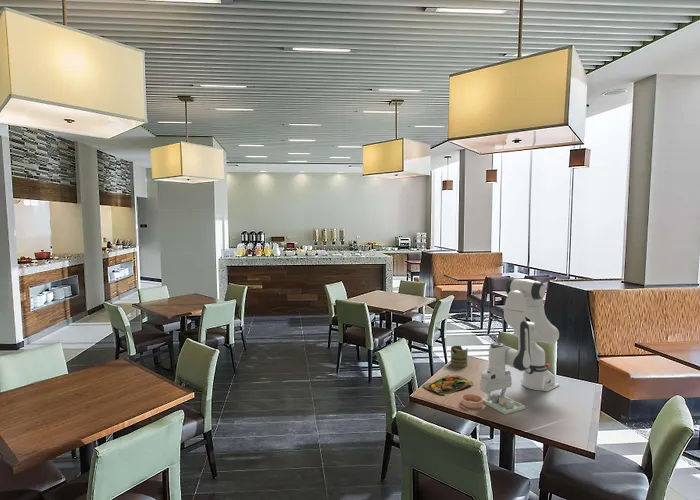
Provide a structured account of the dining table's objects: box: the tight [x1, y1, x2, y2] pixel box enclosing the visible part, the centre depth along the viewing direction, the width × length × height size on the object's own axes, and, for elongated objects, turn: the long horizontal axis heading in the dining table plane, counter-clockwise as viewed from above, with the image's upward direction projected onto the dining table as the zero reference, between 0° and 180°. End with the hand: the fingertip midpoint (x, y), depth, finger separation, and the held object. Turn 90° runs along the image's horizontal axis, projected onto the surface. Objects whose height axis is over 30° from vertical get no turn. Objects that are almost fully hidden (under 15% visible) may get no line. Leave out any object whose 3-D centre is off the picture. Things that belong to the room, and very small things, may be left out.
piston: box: [450, 345, 469, 369], centre depth 287 cm, size 11×12×11 cm
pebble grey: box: [506, 400, 514, 410], centre depth 217 cm, size 4×4×4 cm
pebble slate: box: [491, 393, 500, 403], centre depth 226 cm, size 4×4×4 cm
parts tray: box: [482, 393, 526, 415], centre depth 221 cm, size 14×17×2 cm
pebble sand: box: [499, 397, 507, 407], centre depth 221 cm, size 4×4×4 cm
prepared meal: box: [422, 374, 474, 397], centre depth 249 cm, size 28×4×18 cm
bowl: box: [460, 393, 485, 409], centre depth 224 cm, size 12×12×4 cm
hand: (496, 397), depth 225 cm, fingers open, 8 cm apart
